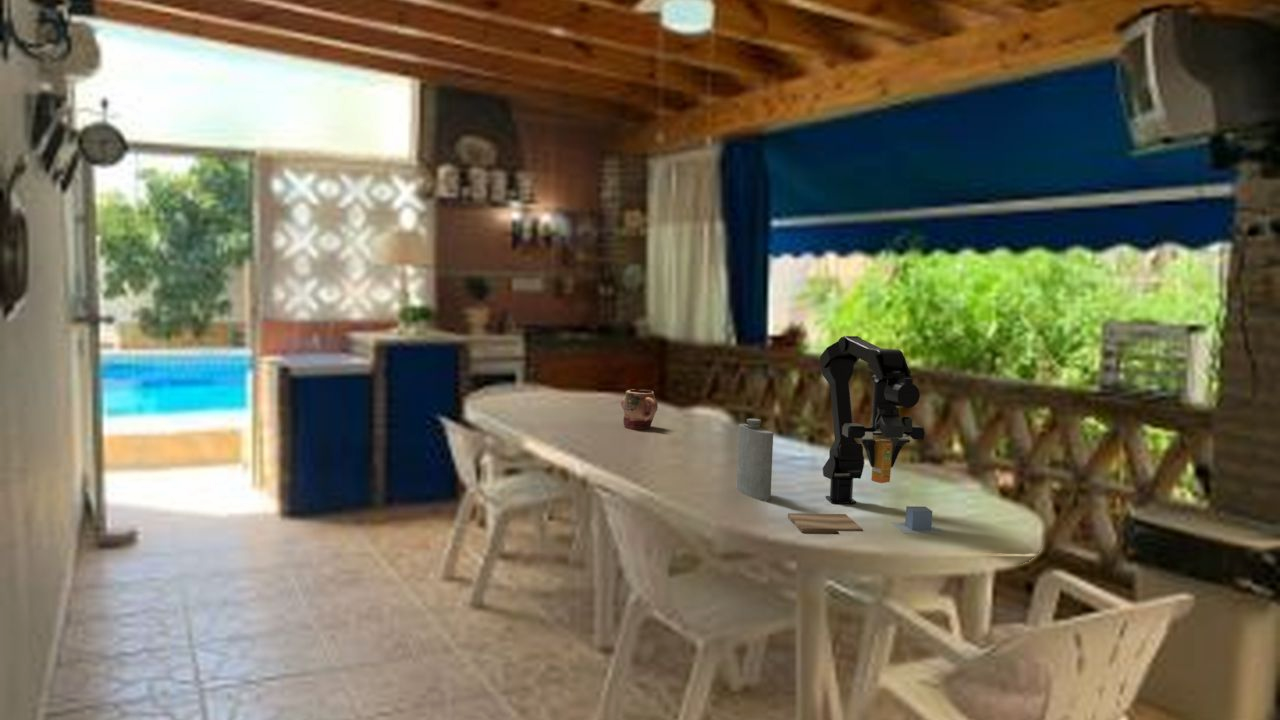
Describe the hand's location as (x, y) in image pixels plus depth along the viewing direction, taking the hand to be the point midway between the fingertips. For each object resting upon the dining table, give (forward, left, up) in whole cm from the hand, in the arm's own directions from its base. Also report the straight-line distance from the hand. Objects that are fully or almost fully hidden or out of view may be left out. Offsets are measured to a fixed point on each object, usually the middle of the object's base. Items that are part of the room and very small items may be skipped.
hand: (881, 467), depth 241 cm
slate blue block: (+10, +6, -12) cm, 17 cm away
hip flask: (-26, -26, -13) cm, 39 cm away
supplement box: (0, 0, -4) cm, 4 cm away
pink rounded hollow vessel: (-134, -47, -13) cm, 143 cm away
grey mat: (+10, +6, -13) cm, 17 cm away
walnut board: (+6, -15, -13) cm, 21 cm away
